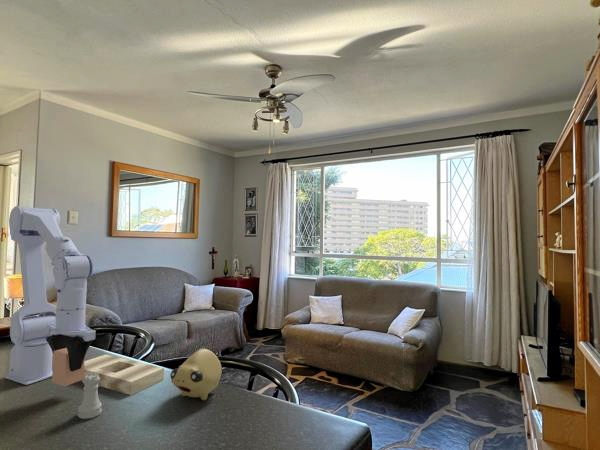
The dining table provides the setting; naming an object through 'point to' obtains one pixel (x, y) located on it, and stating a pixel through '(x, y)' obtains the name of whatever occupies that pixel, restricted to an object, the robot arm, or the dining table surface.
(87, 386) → the rook chess piece
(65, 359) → the square peg
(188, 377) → the yellow toy creature
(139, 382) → the rail
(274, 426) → the dining table surface
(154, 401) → the dining table surface
